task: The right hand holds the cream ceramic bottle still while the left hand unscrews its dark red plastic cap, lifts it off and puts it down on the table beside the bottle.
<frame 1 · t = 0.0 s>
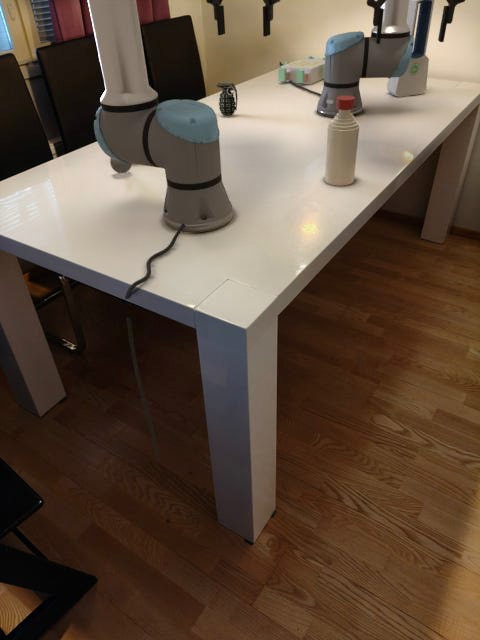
left hand: (243, 35, 129), 28 cm above the table, tool pointing down, fingers open, 13 cm apart
right hand: (408, 42, 109), 28 cm above the table, tool pointing down, fingers open, 13 cm apart
decorative block: (305, 78, 208), on the table
electronic device: (405, 93, 181), on the table
bottle: (339, 180, 120), on the table
cap: (345, 99, 109), point 19 cm above the table, screwed on, not yet turned
grenade: (228, 115, 169), on the table
molecular model: (146, 158, 139), on the table
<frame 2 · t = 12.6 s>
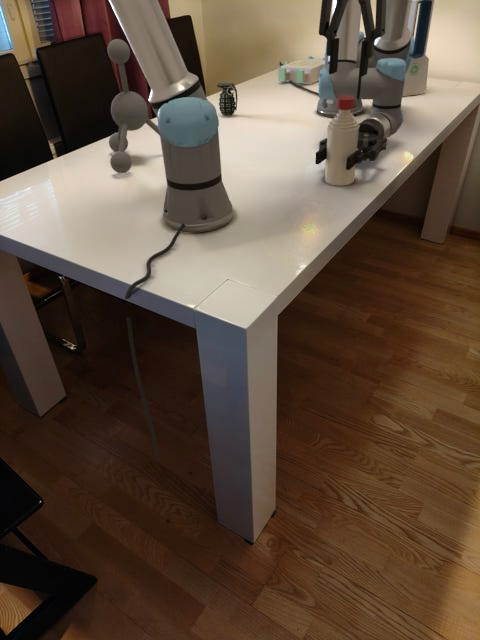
left hand: (347, 73, 106), 24 cm above the table, tool pointing down, fingers open, 6 cm apart
right hand: (332, 161, 113), 6 cm above the table, tool horizontal, fingers closed on bottle, 7 cm apart
bottle: (339, 180, 120), on the table, touching right hand
everything else where it was.
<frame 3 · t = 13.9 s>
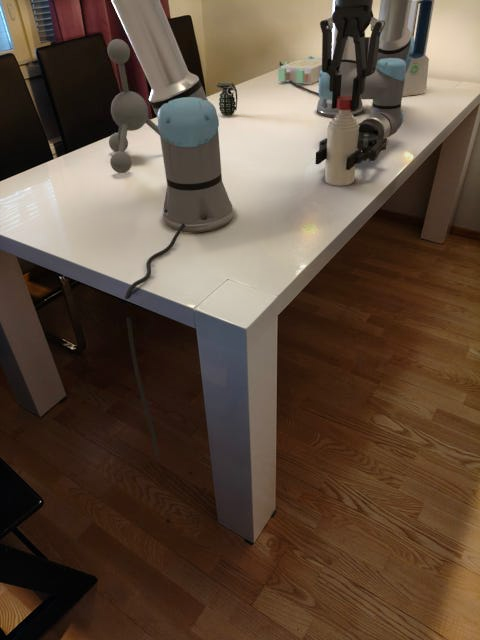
left hand: (345, 108, 110), 17 cm above the table, tool pointing down, fingers closed on cap, 4 cm apart
right hand: (332, 161, 113), 6 cm above the table, tool horizontal, fingers closed on bottle, 7 cm apart
bottle: (339, 180, 120), on the table, touching right hand
cap: (345, 99, 109), point 19 cm above the table, screwed on, not yet turned, touching left hand
everything else where it was.
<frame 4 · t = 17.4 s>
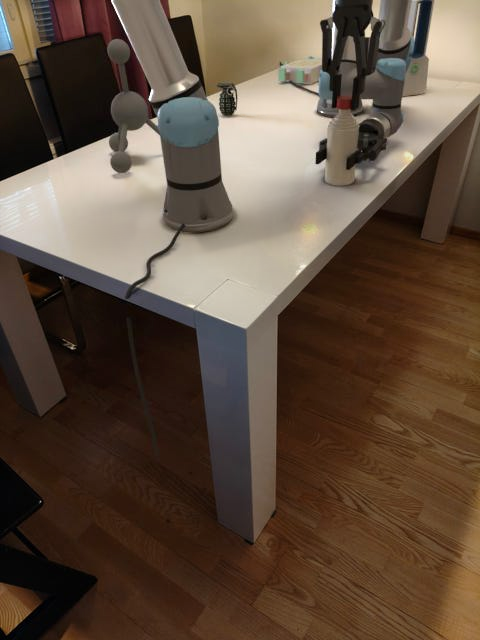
left hand: (345, 107, 110), 17 cm above the table, tool pointing down, fingers closed on cap, 4 cm apart
right hand: (332, 161, 113), 6 cm above the table, tool horizontal, fingers closed on bottle, 7 cm apart
bottle: (339, 180, 120), on the table, touching right hand
cap: (345, 98, 109), point 19 cm above the table, turned 115° so far, risen 0.1 cm, still on its thread, touching left hand
everything else where it was.
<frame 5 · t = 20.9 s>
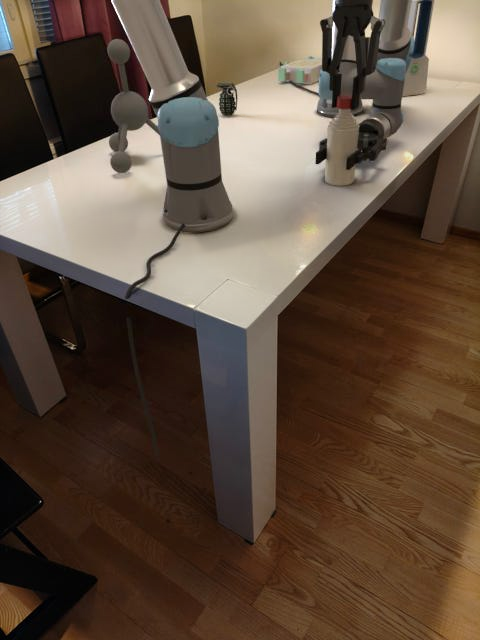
left hand: (345, 107, 110), 17 cm above the table, tool pointing down, fingers closed on cap, 4 cm apart
right hand: (332, 161, 113), 6 cm above the table, tool horizontal, fingers closed on bottle, 7 cm apart
bottle: (339, 180, 120), on the table, touching right hand
cap: (345, 98, 109), point 19 cm above the table, turned 230° so far, risen 0.2 cm, still on its thread, touching left hand
everything else where it was.
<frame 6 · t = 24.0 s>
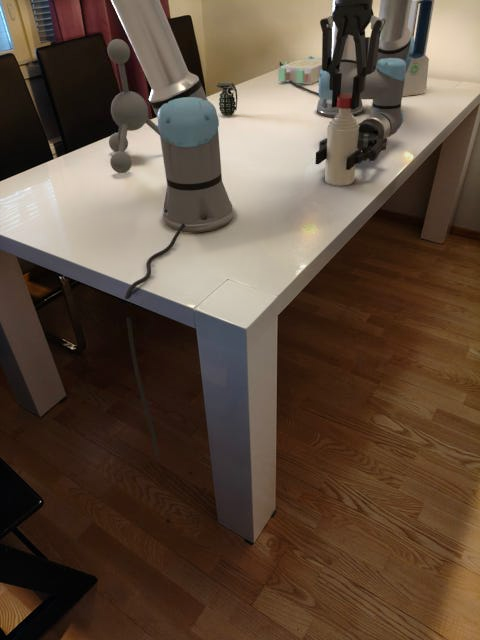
left hand: (345, 106, 110), 17 cm above the table, tool pointing down, fingers closed on cap, 4 cm apart
right hand: (332, 161, 113), 6 cm above the table, tool horizontal, fingers closed on bottle, 7 cm apart
bottle: (339, 180, 120), on the table, touching right hand
cap: (345, 97, 109), point 19 cm above the table, turned 345° so far, risen 0.3 cm, still on its thread, touching left hand
everything else where it was.
when the left hand's fingers open (2 cm above the table, at t = 31.2 s): cap drops 2 cm, point 2 cm above the table.
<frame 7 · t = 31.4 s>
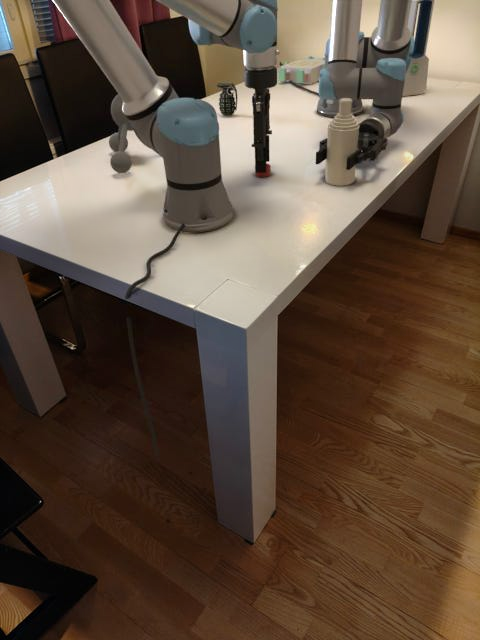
left hand: (262, 166, 124), 2 cm above the table, tool pointing down, fingers open, 7 cm apart
right hand: (332, 161, 113), 6 cm above the table, tool horizontal, fingers closed on bottle, 7 cm apart
bottle: (339, 179, 120), on the table, touching right hand
cap: (262, 167, 125), point 2 cm above the table, off its thread
everything else where it was.
when the right hand's fingers open (6 cm above the table, at t = 32.4 s): bottle stays where it is, on the table.
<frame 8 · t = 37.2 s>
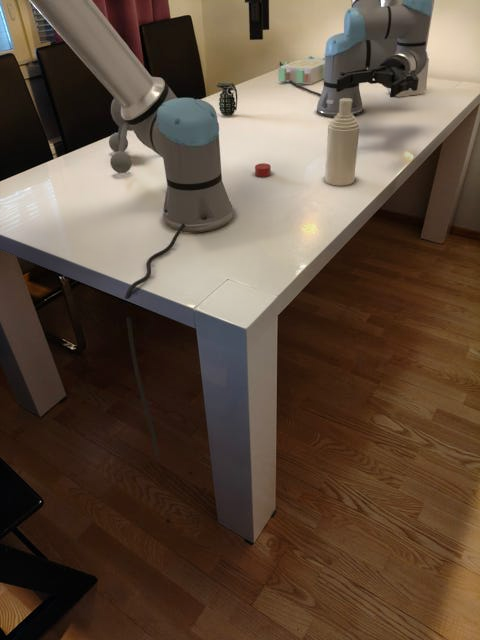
left hand: (260, 34, 106), 31 cm above the table, tool pointing down, fingers open, 13 cm apart
right hand: (364, 88, 115), 19 cm above the table, tool horizontal, fingers open, 13 cm apart
bottle: (339, 180, 120), on the table
everything else where it was.
at the end: cap came off its thread; cap point 1.8 cm above the table; the left hand is holding nothing; the right hand is holding nothing; bottle tilted 0°; bottle moved 0.1 cm from its start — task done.
